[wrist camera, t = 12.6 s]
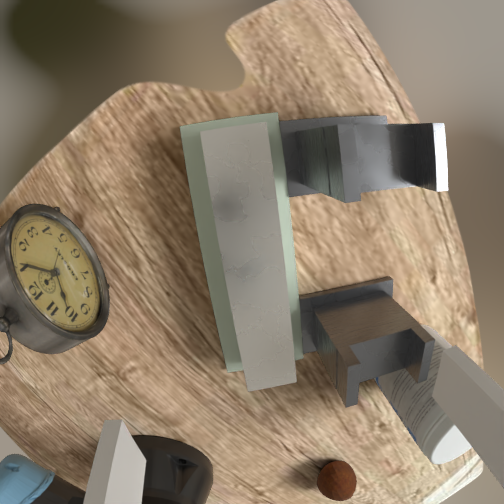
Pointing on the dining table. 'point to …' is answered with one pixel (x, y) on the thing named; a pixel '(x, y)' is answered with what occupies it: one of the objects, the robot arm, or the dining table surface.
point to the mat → (210, 238)
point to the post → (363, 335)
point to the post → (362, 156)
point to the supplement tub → (424, 408)
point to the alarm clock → (49, 282)
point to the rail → (251, 250)
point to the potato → (337, 481)
